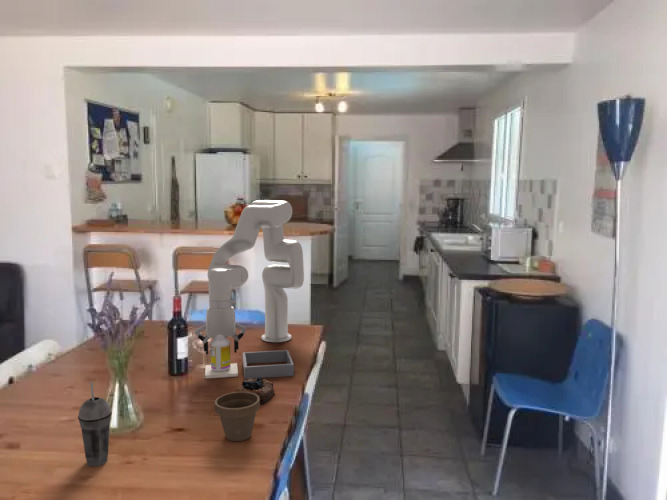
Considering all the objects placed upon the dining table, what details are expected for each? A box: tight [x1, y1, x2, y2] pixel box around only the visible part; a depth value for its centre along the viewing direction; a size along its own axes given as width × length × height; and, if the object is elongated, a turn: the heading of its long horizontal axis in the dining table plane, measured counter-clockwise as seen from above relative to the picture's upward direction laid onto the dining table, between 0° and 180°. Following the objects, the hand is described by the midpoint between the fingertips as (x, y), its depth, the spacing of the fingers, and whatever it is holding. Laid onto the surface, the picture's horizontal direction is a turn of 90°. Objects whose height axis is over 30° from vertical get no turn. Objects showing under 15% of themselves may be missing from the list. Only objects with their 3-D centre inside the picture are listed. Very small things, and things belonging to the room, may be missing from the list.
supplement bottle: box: [210, 335, 232, 372], centre depth 192 cm, size 7×7×13 cm
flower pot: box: [214, 391, 261, 442], centre depth 143 cm, size 12×11×10 cm
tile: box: [204, 362, 239, 379], centre depth 193 cm, size 11×11×1 cm
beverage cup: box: [77, 381, 113, 468], centre depth 129 cm, size 7×7×20 cm
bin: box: [242, 349, 295, 380], centre depth 196 cm, size 17×17×4 cm
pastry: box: [234, 377, 276, 405], centre depth 170 cm, size 11×12×6 cm
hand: (221, 352), depth 192 cm, fingers open, 9 cm apart
